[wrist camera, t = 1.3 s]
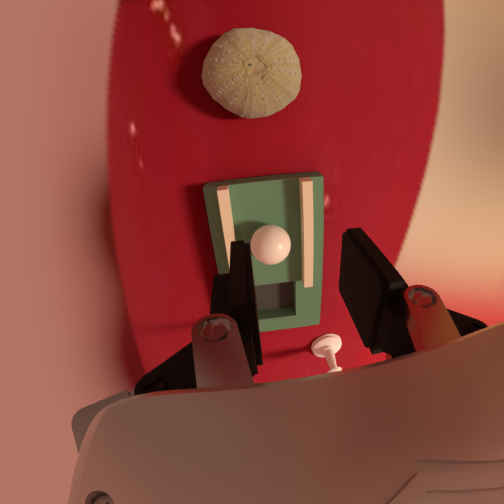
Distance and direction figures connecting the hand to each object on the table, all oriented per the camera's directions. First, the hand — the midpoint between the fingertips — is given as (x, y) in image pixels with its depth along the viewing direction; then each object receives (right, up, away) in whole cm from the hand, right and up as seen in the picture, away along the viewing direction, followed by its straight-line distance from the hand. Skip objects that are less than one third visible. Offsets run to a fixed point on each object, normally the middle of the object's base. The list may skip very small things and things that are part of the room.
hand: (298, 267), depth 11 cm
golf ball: (0, +1, +17) cm, 17 cm away
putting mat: (0, 0, +22) cm, 22 cm away
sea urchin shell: (-2, +18, +12) cm, 22 cm away
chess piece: (+10, -14, +31) cm, 35 cm away
